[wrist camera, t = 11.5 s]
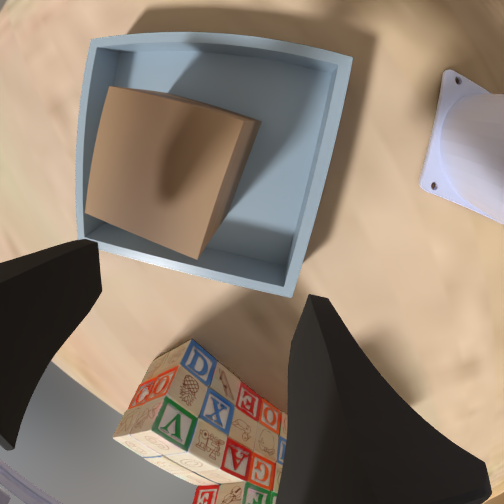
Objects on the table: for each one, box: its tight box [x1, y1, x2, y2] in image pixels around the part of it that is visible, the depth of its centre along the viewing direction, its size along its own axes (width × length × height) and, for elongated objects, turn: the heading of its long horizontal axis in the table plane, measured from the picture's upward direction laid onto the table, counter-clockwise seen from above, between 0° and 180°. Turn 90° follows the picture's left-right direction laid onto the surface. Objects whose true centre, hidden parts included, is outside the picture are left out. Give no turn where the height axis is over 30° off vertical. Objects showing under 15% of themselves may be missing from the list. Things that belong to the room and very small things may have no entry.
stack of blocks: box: [113, 339, 288, 504], centre depth 21 cm, size 21×6×12 cm, turn 41°
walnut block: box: [85, 86, 262, 260], centre depth 13 cm, size 6×6×6 cm
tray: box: [76, 32, 353, 298], centre depth 15 cm, size 14×13×3 cm
